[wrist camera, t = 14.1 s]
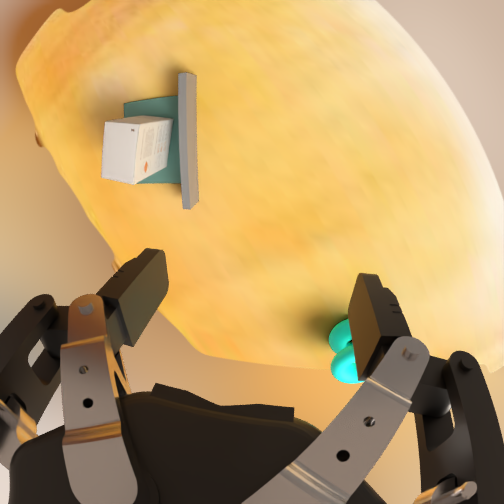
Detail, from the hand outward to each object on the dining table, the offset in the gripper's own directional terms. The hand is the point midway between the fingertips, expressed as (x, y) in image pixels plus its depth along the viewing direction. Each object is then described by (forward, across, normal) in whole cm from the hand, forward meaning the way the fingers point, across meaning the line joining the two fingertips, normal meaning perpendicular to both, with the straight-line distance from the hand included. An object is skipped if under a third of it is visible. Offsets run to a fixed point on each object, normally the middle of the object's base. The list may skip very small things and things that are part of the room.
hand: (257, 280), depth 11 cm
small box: (+31, +20, -2) cm, 37 cm away
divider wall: (+31, +14, -2) cm, 34 cm away
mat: (+31, +20, -2) cm, 37 cm away
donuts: (+32, -17, +32) cm, 48 cm away
